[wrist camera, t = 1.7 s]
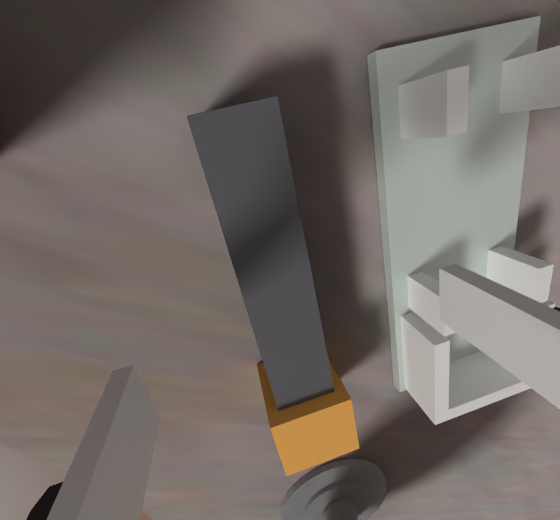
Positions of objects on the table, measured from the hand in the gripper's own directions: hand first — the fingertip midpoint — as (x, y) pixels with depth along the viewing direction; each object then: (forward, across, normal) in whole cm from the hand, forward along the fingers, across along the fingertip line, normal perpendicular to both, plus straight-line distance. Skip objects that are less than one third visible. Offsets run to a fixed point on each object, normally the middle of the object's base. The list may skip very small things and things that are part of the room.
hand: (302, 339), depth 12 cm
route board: (+9, +14, -2) cm, 17 cm away
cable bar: (+9, 0, -2) cm, 10 cm away
